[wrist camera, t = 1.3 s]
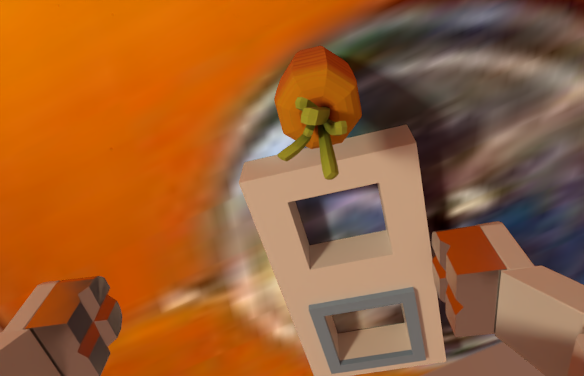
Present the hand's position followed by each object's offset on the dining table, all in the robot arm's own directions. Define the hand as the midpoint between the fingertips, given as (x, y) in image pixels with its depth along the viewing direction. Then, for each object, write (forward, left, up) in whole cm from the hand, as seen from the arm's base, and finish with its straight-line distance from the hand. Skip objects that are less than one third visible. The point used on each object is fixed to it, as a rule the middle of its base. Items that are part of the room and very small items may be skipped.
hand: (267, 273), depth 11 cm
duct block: (0, +22, -25) cm, 33 cm away
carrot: (-1, +2, -25) cm, 25 cm away
